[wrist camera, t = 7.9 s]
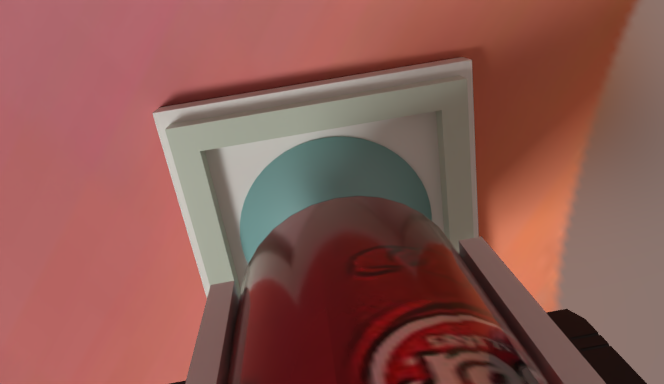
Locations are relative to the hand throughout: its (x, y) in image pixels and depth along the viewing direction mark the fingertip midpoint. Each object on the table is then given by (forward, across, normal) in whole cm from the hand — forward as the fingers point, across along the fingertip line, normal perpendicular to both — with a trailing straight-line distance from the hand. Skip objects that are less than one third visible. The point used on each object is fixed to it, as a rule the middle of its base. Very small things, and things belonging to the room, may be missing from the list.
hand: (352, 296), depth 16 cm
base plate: (+6, 0, 0) cm, 6 cm away
